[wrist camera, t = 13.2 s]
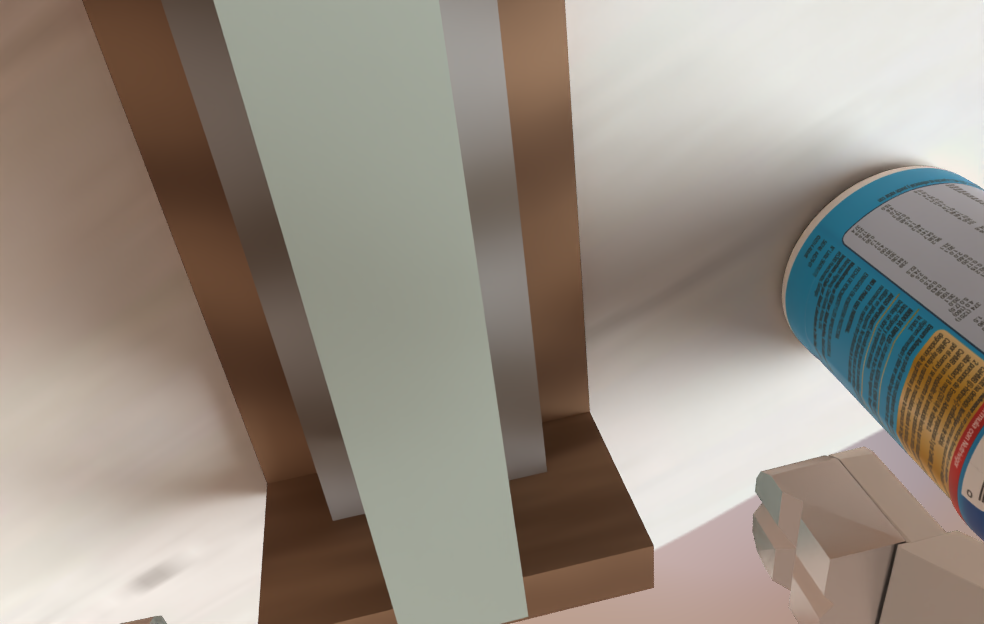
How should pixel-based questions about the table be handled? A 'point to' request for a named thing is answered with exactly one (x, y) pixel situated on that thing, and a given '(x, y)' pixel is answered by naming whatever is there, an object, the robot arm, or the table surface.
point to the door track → (286, 331)
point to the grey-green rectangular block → (388, 284)
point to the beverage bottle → (903, 316)
